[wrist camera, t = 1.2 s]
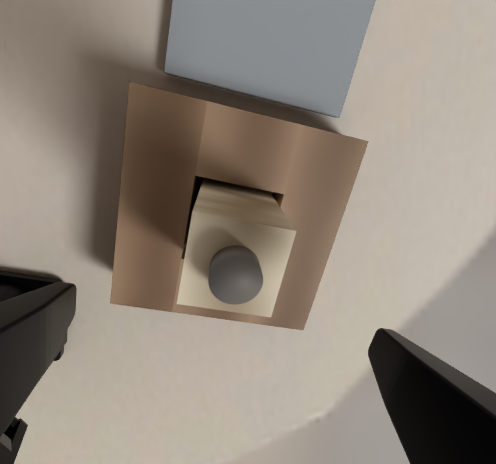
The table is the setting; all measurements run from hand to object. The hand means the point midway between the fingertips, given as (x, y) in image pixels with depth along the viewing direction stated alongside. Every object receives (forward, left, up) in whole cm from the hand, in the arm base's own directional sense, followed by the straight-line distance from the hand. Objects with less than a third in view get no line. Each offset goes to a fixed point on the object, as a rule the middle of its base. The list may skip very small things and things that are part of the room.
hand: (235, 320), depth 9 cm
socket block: (0, 0, -11) cm, 11 cm away
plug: (0, 0, -11) cm, 11 cm away
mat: (0, +12, -11) cm, 16 cm away
